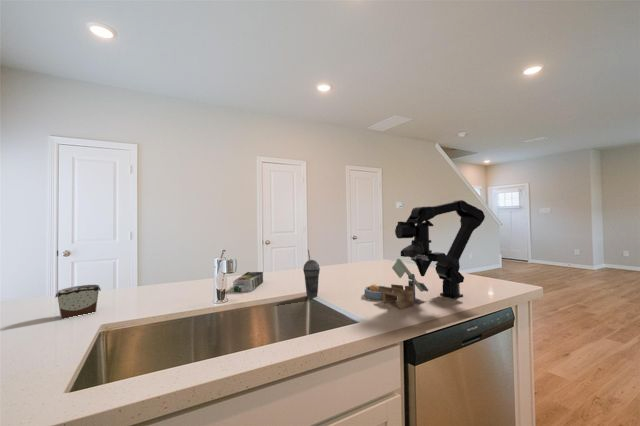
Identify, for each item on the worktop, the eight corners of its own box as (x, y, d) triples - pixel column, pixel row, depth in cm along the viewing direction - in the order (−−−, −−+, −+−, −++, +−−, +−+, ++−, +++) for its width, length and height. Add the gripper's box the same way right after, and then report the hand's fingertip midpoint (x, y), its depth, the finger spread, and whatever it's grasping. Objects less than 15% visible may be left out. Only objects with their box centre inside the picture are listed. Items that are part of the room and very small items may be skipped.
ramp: (392, 298, 108) (392, 280, 108) (414, 305, 98) (413, 286, 98) (380, 300, 105) (379, 282, 105) (400, 308, 95) (400, 289, 95)
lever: (413, 298, 107) (420, 287, 109) (421, 301, 103) (428, 290, 105) (388, 267, 101) (396, 256, 103) (396, 268, 98) (403, 257, 100)
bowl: (379, 291, 119) (379, 284, 119) (396, 297, 109) (396, 289, 109) (360, 294, 114) (360, 287, 114) (376, 301, 104) (376, 293, 104)
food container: (99, 308, 105) (99, 282, 105) (100, 311, 100) (100, 285, 100) (55, 316, 96) (55, 289, 96) (55, 321, 91) (54, 292, 92)
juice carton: (252, 292, 122) (252, 279, 122) (231, 293, 123) (231, 280, 123) (264, 282, 142) (263, 271, 142) (246, 283, 143) (245, 271, 143)
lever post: (412, 298, 107) (411, 279, 107) (419, 301, 103) (419, 281, 103) (404, 300, 105) (404, 280, 105) (412, 303, 101) (411, 282, 101)
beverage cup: (318, 299, 109) (317, 250, 110) (301, 298, 111) (300, 250, 111) (322, 294, 116) (321, 248, 117) (306, 293, 118) (305, 248, 118)
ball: (381, 288, 111) (379, 294, 113) (376, 281, 114) (373, 287, 116) (374, 290, 109) (371, 297, 111) (368, 283, 112) (366, 289, 114)
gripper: (390, 237, 112) (391, 274, 112) (426, 240, 95) (427, 283, 95) (409, 236, 117) (410, 271, 117) (446, 238, 100) (448, 279, 100)
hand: (422, 276), depth 107 cm, fingers closed
